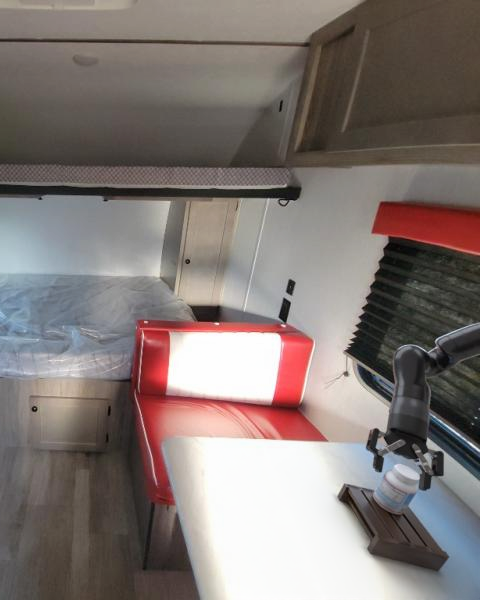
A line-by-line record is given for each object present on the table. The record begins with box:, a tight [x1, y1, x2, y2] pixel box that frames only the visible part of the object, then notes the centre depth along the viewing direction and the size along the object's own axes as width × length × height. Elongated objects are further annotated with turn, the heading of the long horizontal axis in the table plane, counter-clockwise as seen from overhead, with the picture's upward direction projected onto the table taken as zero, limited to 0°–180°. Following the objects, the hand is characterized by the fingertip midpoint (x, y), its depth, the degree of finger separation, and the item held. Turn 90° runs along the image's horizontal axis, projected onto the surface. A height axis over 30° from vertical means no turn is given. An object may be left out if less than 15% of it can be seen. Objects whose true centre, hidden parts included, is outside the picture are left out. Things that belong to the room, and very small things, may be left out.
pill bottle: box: [373, 463, 420, 515], centre depth 82 cm, size 6×6×11 cm
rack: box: [337, 483, 450, 572], centre depth 82 cm, size 14×15×5 cm
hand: (400, 480), depth 82 cm, fingers open, 8 cm apart
